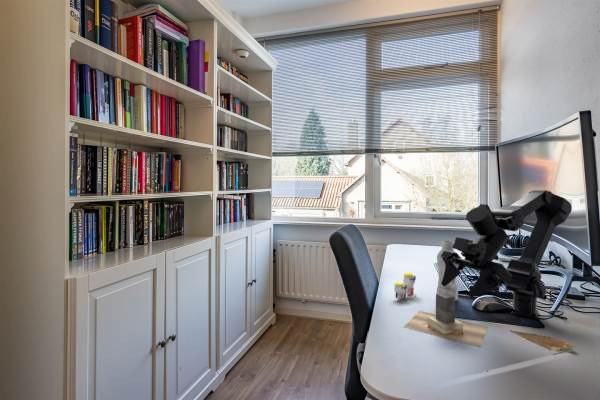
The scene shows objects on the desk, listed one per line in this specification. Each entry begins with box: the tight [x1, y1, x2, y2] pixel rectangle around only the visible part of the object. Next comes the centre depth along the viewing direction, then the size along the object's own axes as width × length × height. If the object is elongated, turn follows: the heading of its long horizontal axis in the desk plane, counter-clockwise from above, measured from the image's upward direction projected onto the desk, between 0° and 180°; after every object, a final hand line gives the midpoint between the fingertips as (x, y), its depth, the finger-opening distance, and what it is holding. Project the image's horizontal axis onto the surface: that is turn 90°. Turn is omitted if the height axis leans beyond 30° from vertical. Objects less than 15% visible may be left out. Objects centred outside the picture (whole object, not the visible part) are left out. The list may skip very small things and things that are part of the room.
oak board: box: [403, 310, 489, 348], centre depth 85 cm, size 14×18×1 cm
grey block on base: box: [428, 293, 463, 336], centre depth 84 cm, size 6×6×9 cm
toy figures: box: [393, 272, 417, 301], centre depth 109 cm, size 12×4×8 cm, turn 134°
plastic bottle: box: [435, 240, 459, 302], centre depth 106 cm, size 6×7×20 cm
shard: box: [509, 330, 575, 356], centre depth 78 cm, size 11×8×2 cm
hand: (455, 290), depth 85 cm, fingers open, 9 cm apart
